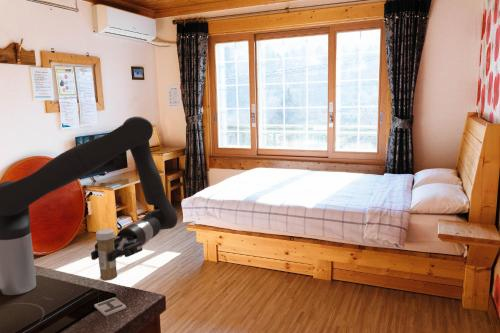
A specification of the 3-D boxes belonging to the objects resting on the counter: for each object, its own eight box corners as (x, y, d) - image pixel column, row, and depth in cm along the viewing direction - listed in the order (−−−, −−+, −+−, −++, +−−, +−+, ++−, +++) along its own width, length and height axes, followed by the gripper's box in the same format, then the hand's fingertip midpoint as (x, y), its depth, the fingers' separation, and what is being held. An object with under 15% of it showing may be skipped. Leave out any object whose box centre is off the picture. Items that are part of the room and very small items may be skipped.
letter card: (94, 306, 111) (94, 304, 111) (114, 299, 115) (114, 297, 115) (105, 316, 106) (105, 314, 106) (126, 308, 110) (126, 305, 110)
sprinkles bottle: (119, 278, 109) (115, 231, 106) (102, 282, 106) (98, 235, 104) (114, 272, 113) (111, 226, 110) (98, 276, 110) (94, 230, 108)
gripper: (114, 222, 123) (76, 241, 107) (155, 225, 119) (122, 246, 103) (116, 245, 124) (78, 267, 108) (157, 249, 120) (124, 273, 104)
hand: (100, 257), depth 106 cm, fingers closed on sprinkles bottle, 4 cm apart
